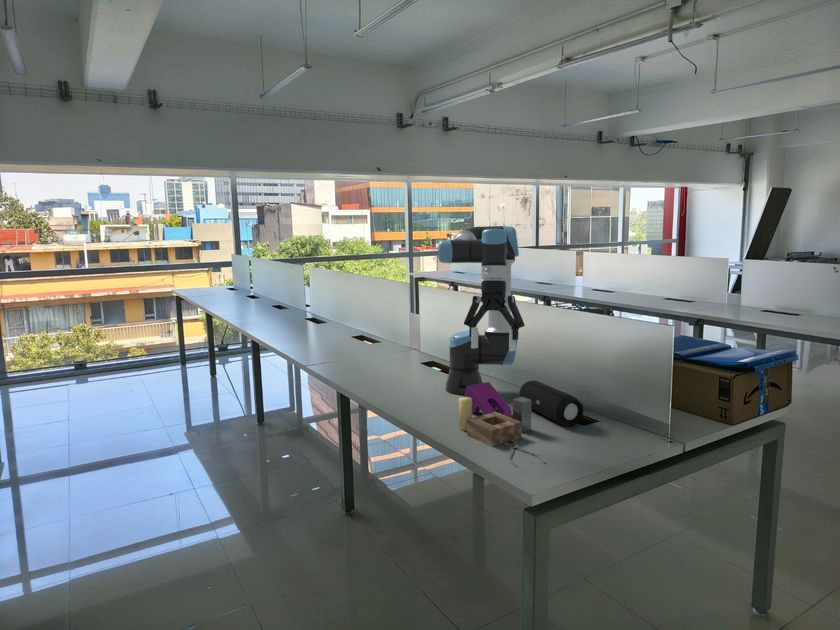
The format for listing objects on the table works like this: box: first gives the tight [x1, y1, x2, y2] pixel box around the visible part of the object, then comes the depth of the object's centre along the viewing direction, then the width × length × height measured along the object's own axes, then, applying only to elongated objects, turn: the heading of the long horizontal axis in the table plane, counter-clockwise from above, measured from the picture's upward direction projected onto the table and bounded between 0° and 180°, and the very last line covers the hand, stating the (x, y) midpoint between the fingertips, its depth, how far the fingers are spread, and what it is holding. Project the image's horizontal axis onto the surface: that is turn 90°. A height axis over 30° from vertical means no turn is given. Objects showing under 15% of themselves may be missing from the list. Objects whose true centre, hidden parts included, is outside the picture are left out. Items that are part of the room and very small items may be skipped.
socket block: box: [466, 411, 522, 447], centre depth 178 cm, size 12×12×5 cm
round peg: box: [458, 396, 473, 432], centre depth 184 cm, size 4×4×10 cm
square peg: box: [512, 396, 532, 434], centre depth 183 cm, size 4×4×10 cm
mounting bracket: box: [463, 381, 513, 418], centre depth 198 cm, size 9×8×18 cm
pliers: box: [502, 439, 546, 468], centre depth 165 cm, size 10×1×20 cm
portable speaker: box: [518, 380, 584, 426], centre depth 195 cm, size 26×10×10 cm, turn 23°
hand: (493, 349), depth 174 cm, fingers open, 13 cm apart
